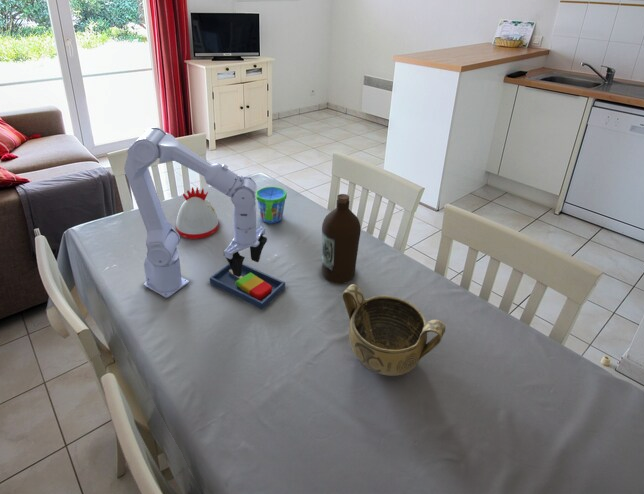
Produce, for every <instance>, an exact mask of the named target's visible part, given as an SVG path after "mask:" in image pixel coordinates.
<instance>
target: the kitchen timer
mask: <svg viewBox="0 0 644 494" xmlns="http://www.w3.org/2000/svg"><path fill="white" fill-rule="evenodd" d="M190 191H191V192H190ZM182 193H183V194H182V197H183V198H184V199H185V200H184V202H183V203H182V204H181V206H180V208H179V210H178V212H177V217H176V223H175V224H176V225H175V226H176V231H177V233H178V234H179V236H180V237H182V238H186V239H189V240H190V239H191V240H197V239H203V238H207V237H210V236H212V235H213V234H215V233H216V232H217V231H218V229H219V227H220V226H219V218H218V214H217V212H216V210H215V208H214V206H213V204H212V203H211V202H210V201H209V200H208V199H207V196H208V194H209V191H206V193H205V189H204V188H202V189H201V191H199V188H198V187H196V189H194V187H193V186H192V187H191V190H189V189H187V191H186V193H187V195H186V193H184V192H182Z"/></svg>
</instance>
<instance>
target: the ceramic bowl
mask: <svg viewBox="0 0 644 494" xmlns="http://www.w3.org/2000/svg"><path fill="white" fill-rule="evenodd" d="M342 300H343V302H344V305H345V309H346V311H347V314H348V318H349V325H348V326H349V327H348V336H349V337H348V338H349V344H350V346H351V349H352V352H353V355H355V357H356V359H357V360H358V361H359V362H360V363H361V365H363V366H364V367H365V368H366V369H368V370H370V371H371V372H374V373H376V374H379V375H382V376H389V377H390V376H391V377H396V376H401V375H405V374H408V373H409V372H411V371H412V370H414V369H415V367H416V366H417V365H418V364H419V362H420V360H421V359H422V358H423V357H425V356H426V355H427V354H429V353H430V352H431V351H432V350H433V349H434V348H436V347H437V346H438V345H439V344H440V343H441V341H442V339H443V336H444V334H445V332H446V325H445V323H444V322H443V321H441V320H439V319H431V320H429V321H426V318H425V316H424V314H423V313H422V311H421V310H420V309H419V308H418V307H417V306H415V305H414V304H413V303H411V302H410V301H407V300H405V299H402V298H399V297H397V296H392V295H376V296H371V297H369V298H365V296H364V293H363V292H362V290H361V288H360V287H359V286H358V285H357V284H354V283H353V284H350V285H349V286H348V287H347V288H346V289H345V290H344V291H343V292H342ZM428 333H435V334H436V335H435V336H434V337H433V338H432V339H431V340H430V341H428ZM427 341H428V342H427Z"/></svg>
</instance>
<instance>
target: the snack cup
mask: <svg viewBox="0 0 644 494" xmlns="http://www.w3.org/2000/svg"><path fill="white" fill-rule="evenodd" d="M287 196H288V195H287V190H285V189H284V188H282V187H278V186H266V187H262V188H260V189H257V190H256V196H255V198H256V200H257V204H258V210H259V215H260V220H261V221H262V222H265V223H267V224H276V223H278V222H281V220H282V219H283V215H284V210H285V204H286V200H287Z"/></svg>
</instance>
